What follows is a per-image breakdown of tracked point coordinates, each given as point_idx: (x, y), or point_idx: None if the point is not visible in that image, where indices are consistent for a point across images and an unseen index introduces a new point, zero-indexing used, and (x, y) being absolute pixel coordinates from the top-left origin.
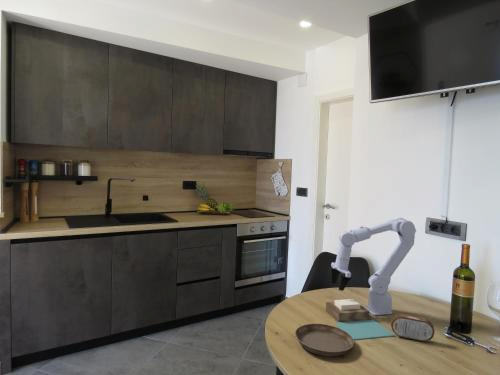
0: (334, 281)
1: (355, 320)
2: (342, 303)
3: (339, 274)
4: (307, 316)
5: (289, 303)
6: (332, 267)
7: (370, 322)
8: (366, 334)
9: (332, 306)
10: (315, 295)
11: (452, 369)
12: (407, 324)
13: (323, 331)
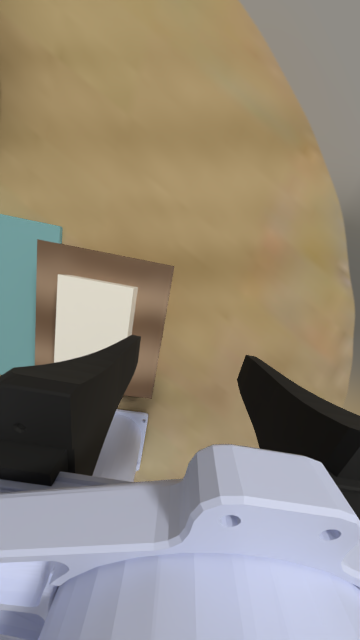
0: (246, 382)
1: None
2: (81, 298)
3: (52, 399)
4: (152, 155)
5: (296, 160)
6: (303, 456)
7: (33, 356)
8: None
9: (119, 262)
10: (312, 325)
11: None
12: None
13: None
